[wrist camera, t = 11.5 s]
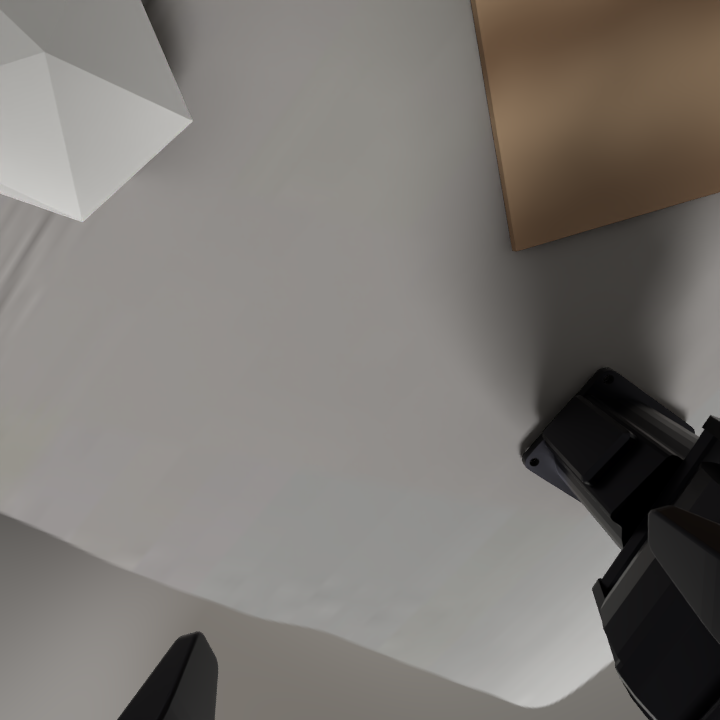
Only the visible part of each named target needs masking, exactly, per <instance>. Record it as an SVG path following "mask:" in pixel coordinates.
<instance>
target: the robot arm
mask: <svg viewBox="0 0 720 720" xmlns="http://www.w3.org/2000/svg"><path fill="white" fill-rule="evenodd" d="M607 375H609V378H608V380H607V381H604V378H605V377H606V376H607ZM702 428H703V429H705V430H704V431H703V432H702V434H701V435H700V437H698V436H697V435H695V431H694V429H693V428H692V427H691V426H690V425H688V424H687V423H686V422H684V421H683V420H682V419H680V418H679V417H677V416H676V415H675V414H673V413H672V412H671V411H669V410H668V409H666V408H665V407H664V406H662V405H661V404H660V403H658V402H657V401H655V400H654V399H653V398H651V397H650V396H649V395H647V394H646V393H644V392H643V391H642V390H640V389H639V388H638V387H636V386H635V385H633V384H632V383H631V382H629V381H628V380H627V379H625V378H624V377H622V376H621V375H620V374H618V373H617V372H615V371H614V370H612V369H610V368H602V369H600V370H598V371H597V372H596V373H595V374H594V375H593V377H592V378H591V379H590V380H589V381H588V382H587V383H586V384H585V386H584V387H583V388H582V389H581V390H580V391H579V392H578V394H577V395H576V396H575V397H573V398H572V399H571V401H570V402H569V403H568V404H567V405H566V406H565V407H564V409H563V410H562V411H561V412H560V413H559V414H558V415H557V416H556V418H555V419H554V420H553V421H552V422H551V423H550V424H549V425H548V427H547V428H546V429H545V430H544V431H543V433H542V434H541V435H540V436H539V438H538V439H537V440H536V441H535V442H534V443H533V444H532V445H531V447H530V448H529V449H528V450H527V451H526V452H525V453H524V455H523V457H522V462H523V464H524V465H525V466H526V468H527V469H529V470H530V471H532V472H533V473H535V474H537V475H538V476H540V477H541V478H543V479H545V480H546V481H548V482H549V483H551V484H552V485H554V486H556V487H557V488H559V489H560V490H562V491H564V492H565V493H567V494H568V495H570V496H572V497H573V498H575V499H576V500H578V501H580V502H581V503H582V504H583V505H584V506H585V507H586V508H587V510H588V511H589V512H590V513H591V514H592V516H593V517H594V518H595V519H596V520H597V522H598V523H599V524H600V525H601V526H602V528H603V529H604V530H605V531H606V532H607V534H608V535H609V536H610V537H611V538H612V540H613V541H614V542H615V543H616V544H617V546H618V547H619V548H620V549H621V552H620V553H619V555H618V556H617V558H616V559H615V561H614V562H613V564H612V565H611V566H610V568H609V569H608V571H607V572H606V574H605V575H604V577H603V578H602V579H601V578H599V579H598V580H597V582H596V583H595V585H594V586H593V588H592V591H593V594H594V597H595V600H596V603H597V607H598V610H599V613H600V616H601V619H602V623H603V629H604V631H605V633H606V635H607V638H608V642H609V645H610V648H611V651H612V654H613V657H614V661H615V668H616V670H617V673H618V675H619V677H620V679H621V680H622V682H623V684H624V686H625V687H626V689H627V691H628V693H629V694H630V696H631V698H632V699H633V701H634V702H635V703H636V704H637V706H638V707H639V708H640V709H641V711H642V712H643V713H644V714H645V716H646V717H647V718H648V719H649V720H720V418H717V417H714V416H712V415H710V416H709V418H708V419H707V421H706V422H705V424H704V425H703V427H702ZM533 458H536V460H535V461H534V462H530V460H531V459H533ZM217 679H218V663H217V659H216V657H215V655H214V653H213V651H212V649H211V647H210V645H209V644H208V642H207V640H206V638H205V636H204V635H203V633H201V632H194V633H190V634H187V635H183V636H181V637H179V638H178V639H177V640H176V641H175V642H174V644H173V645H172V646H171V648H170V649H169V650H168V652H167V653H166V654H165V656H164V657H163V658H162V660H161V661H160V662H159V664H158V665H157V667H156V668H155V669H154V671H153V672H152V673H151V675H150V676H149V677H148V679H147V680H146V682H145V683H144V684H143V686H142V687H141V688H140V689H139V691H138V692H137V694H136V695H135V696H134V698H133V699H132V700H131V702H130V703H129V704H128V706H127V707H126V709H125V710H124V711H123V713H122V714H121V715H120V717H119V718H118V719H117V720H215V706H216V694H217V693H216V692H217Z"/></svg>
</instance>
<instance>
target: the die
mask: <svg viewBox="0 0 720 720" xmlns="http://www.w3.org/2000/svg"><path fill="white" fill-rule="evenodd" d="M191 122H193V120H192V118H191V116H190V113H189V111H188V109H187V106H186V104H185V102H184V99H183V97H182V95H181V92H180V90H179V88H178V85H177V83H176V81H175V79H174V76H173V74H172V72H171V69H170V67H169V65H168V62H167V60H166V58H165V55H164V53H163V51H162V48H161V46H160V44H159V41H158V39H157V37H156V34H155V32H154V30H153V28H152V25H151V23H150V21H149V18H148V16H147V14H146V11H145V9H144V7H143V4H142V2H141V0H0V194H3V195H6V196H9V197H12V198H14V199H17V200H20V201H23V202H26V203H29V204H32V205H35V206H37V207H40V208H43V209H46V210H49V211H52V212H55V213H57V214H60V215H63V216H66V217H69V218H72V219H75V220H78V221H80V222H83V221H84V220H86V219H87V218H88V217H89V216H90V215H91V214H92V213H93V212H94V211H95V210H96V209H98V208H99V207H100V206H101V205H102V204H103V203H104V202H105V201H106V200H107V199H108V198H110V197H111V196H112V195H113V194H114V193H115V192H116V191H117V190H118V189H119V188H120V187H122V186H123V185H124V184H125V183H126V182H127V181H128V180H129V179H130V178H131V177H133V176H134V175H135V174H136V173H137V172H138V171H139V170H140V169H141V168H142V167H143V166H145V165H146V164H147V163H148V162H149V161H150V160H151V159H152V158H153V157H154V156H155V155H157V154H158V153H159V152H160V151H161V150H162V149H163V148H164V147H165V146H166V145H167V144H169V143H170V142H171V141H172V140H173V139H174V138H175V137H176V136H177V135H178V134H179V133H181V132H182V131H183V130H184V129H185V128H186V127H187V126H188V125H189V124H190V123H191Z"/></svg>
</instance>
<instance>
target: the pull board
mask: <svg viewBox="0 0 720 720" xmlns="http://www.w3.org/2000/svg"><path fill="white" fill-rule="evenodd" d="M471 6H472V12H473V18H474V24H475V30H476V36H477V42H478V48H479V54H480V60H481V66H482V72H483V78H484V84H485V90H486V96H487V102H488V108H489V114H490V120H491V126H492V132H493V138H494V144H495V150H496V156H497V162H498V168H499V174H500V180H501V186H502V192H503V198H504V204H505V210H506V216H507V222H508V228H509V233H510V239H511V245H512V251H520V250H523V249H527V248H530V247H533V246H537V245H540V244H544V243H547V242H551V241H554V240H557V239H561V238H564V237H568V236H571V235H574V234H578V233H581V232H585V231H588V230H592V229H595V228H598V227H602V226H605V225H609V224H612V223H615V222H619V221H622V220H626V219H629V218H633V217H636V216H639V215H643V214H646V213H650V212H653V211H656V210H660V209H663V208H667V207H670V206H674V205H677V204H680V203H684V202H687V201H691V200H694V199H697V198H701V197H704V196H708V195H711V194H715V193H718V192H720V0H471Z"/></svg>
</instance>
